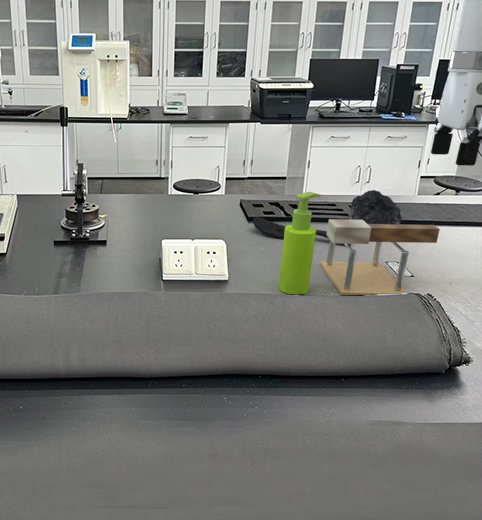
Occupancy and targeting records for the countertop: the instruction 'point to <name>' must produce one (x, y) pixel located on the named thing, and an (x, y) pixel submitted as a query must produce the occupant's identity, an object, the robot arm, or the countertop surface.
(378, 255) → the wire rack
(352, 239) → the cleaning brush
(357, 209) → the crystal cluster
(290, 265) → the soap dispenser
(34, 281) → the countertop surface
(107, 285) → the countertop surface
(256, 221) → the hairbrush
